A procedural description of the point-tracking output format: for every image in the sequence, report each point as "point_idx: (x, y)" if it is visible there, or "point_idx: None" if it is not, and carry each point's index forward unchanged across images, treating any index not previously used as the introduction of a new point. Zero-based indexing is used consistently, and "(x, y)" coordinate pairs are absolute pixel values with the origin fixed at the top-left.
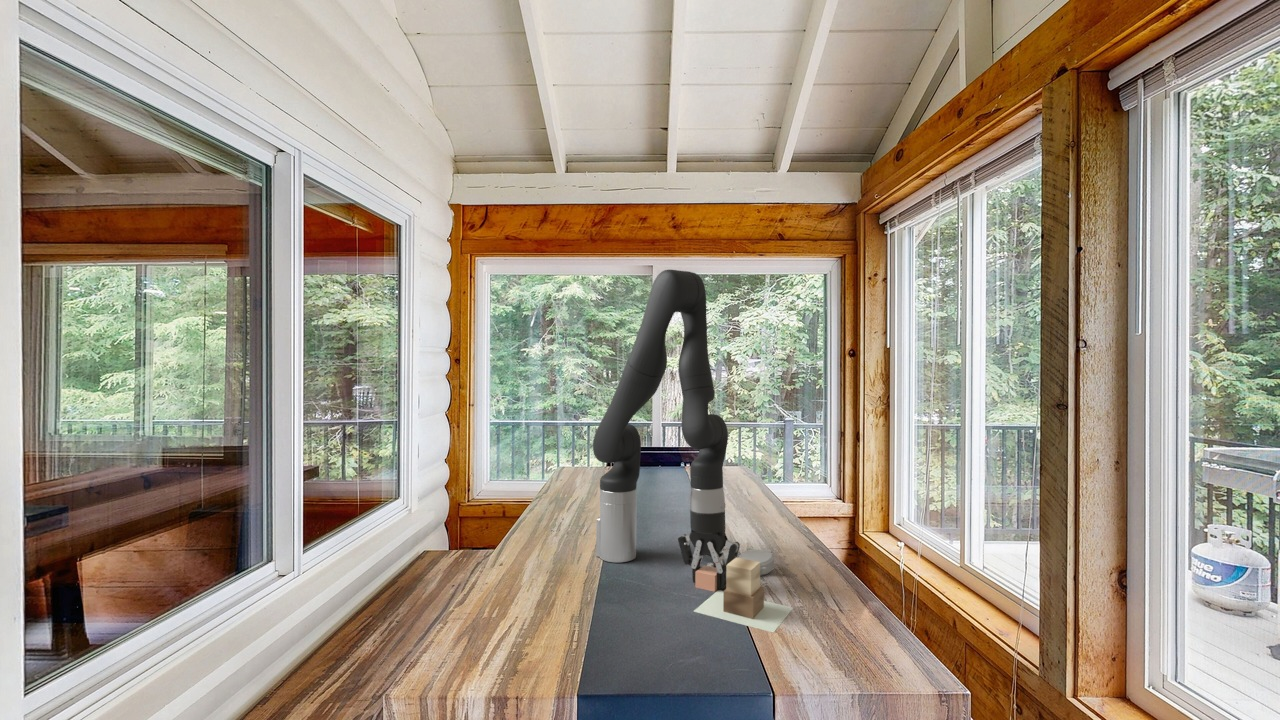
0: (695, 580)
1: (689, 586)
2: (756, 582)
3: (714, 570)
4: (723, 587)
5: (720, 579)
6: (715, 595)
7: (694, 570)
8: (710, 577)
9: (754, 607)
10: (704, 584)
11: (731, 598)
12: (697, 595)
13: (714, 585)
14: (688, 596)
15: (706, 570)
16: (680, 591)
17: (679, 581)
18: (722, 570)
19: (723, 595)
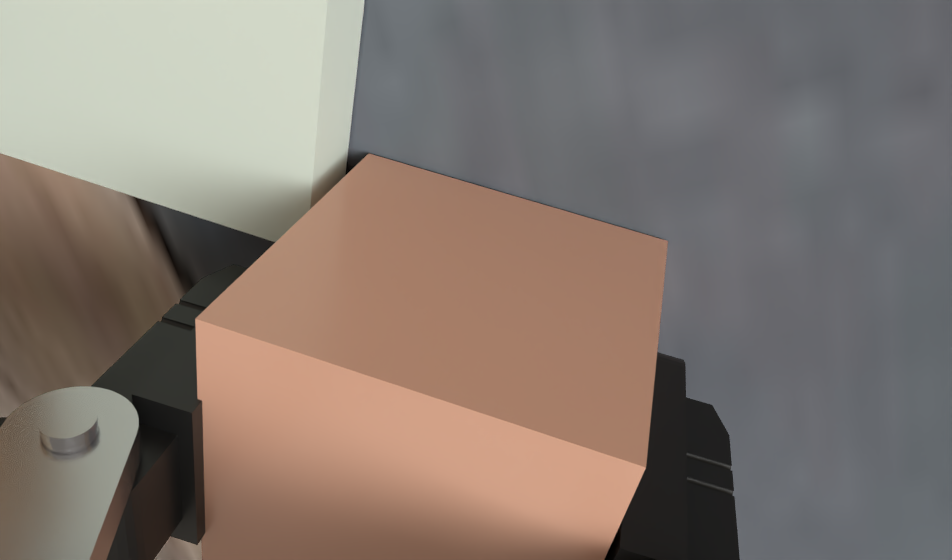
0: (655, 348)
1: (780, 416)
2: None
3: (302, 540)
4: (229, 281)
5: None
6: (276, 37)
7: (686, 548)
8: (315, 321)
9: None
10: (484, 273)
11: None
12: (620, 154)
13: (296, 228)
14: (766, 76)
15: (434, 534)
16: (925, 235)
17: (944, 539)
18: (7, 420)
19: (174, 75)
